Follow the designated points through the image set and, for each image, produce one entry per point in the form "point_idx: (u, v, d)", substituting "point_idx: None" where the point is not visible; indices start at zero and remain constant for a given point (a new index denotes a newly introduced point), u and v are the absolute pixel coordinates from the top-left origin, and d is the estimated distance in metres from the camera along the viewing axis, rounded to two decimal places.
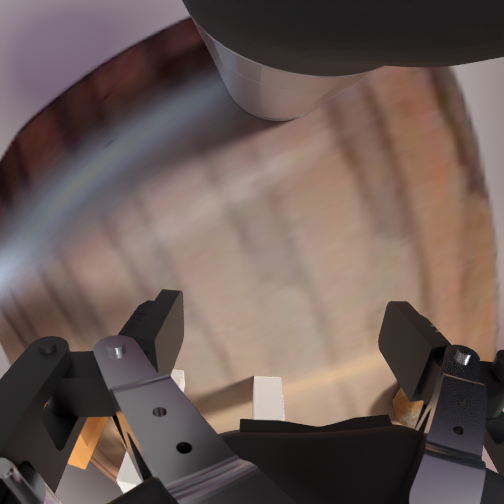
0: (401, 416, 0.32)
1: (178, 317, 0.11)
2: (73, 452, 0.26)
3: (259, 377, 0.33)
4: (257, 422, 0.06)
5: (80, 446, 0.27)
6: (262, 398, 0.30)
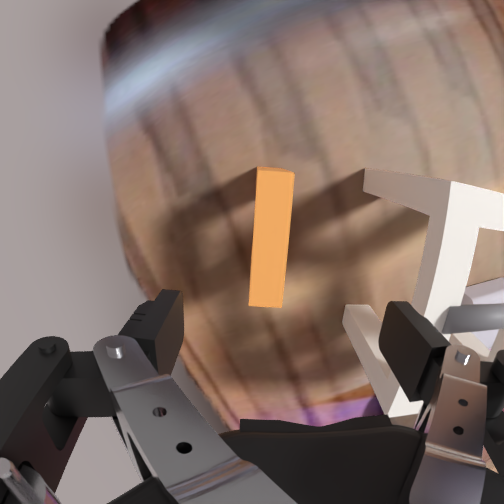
0: None
1: (178, 317, 0.11)
2: (282, 260, 0.23)
3: None
4: (258, 422, 0.06)
5: None
6: None
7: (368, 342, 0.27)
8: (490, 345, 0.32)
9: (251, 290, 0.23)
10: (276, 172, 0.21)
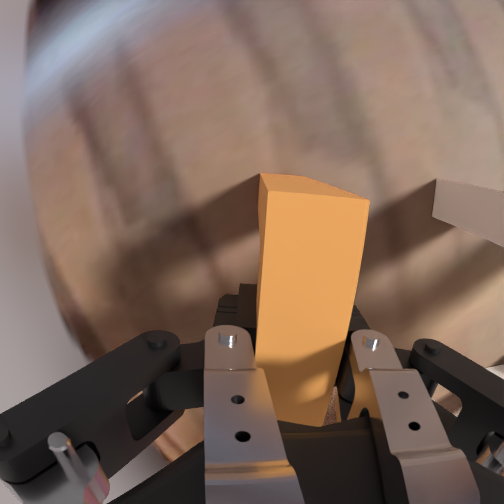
0: None
1: None
2: (321, 399, 0.09)
3: None
4: None
5: None
6: None
7: None
8: None
9: None
10: (321, 197, 0.07)
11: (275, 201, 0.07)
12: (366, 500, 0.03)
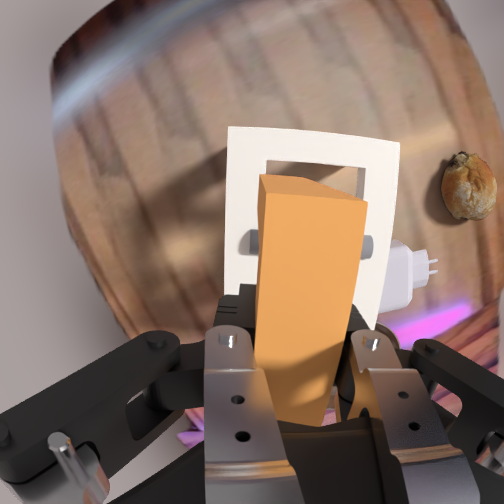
0: (454, 192, 0.36)
1: None
2: (319, 400, 0.09)
3: None
4: None
5: None
6: None
7: None
8: (384, 307, 0.40)
9: None
10: (319, 199, 0.07)
11: (273, 203, 0.07)
12: (366, 500, 0.03)
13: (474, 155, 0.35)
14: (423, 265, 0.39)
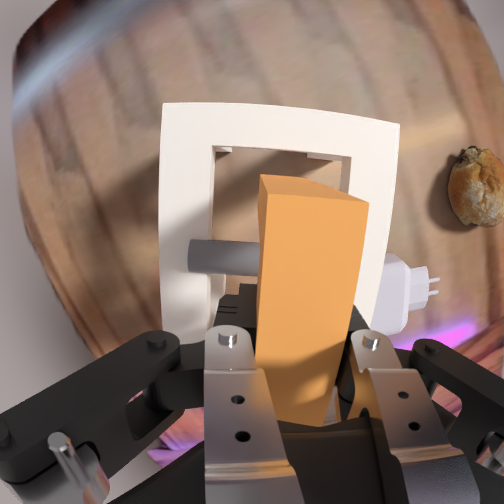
0: (463, 193, 0.30)
1: None
2: (320, 401, 0.09)
3: None
4: None
5: None
6: None
7: None
8: None
9: None
10: (321, 200, 0.07)
11: (275, 204, 0.07)
12: (366, 500, 0.03)
13: (487, 150, 0.28)
14: (422, 285, 0.33)
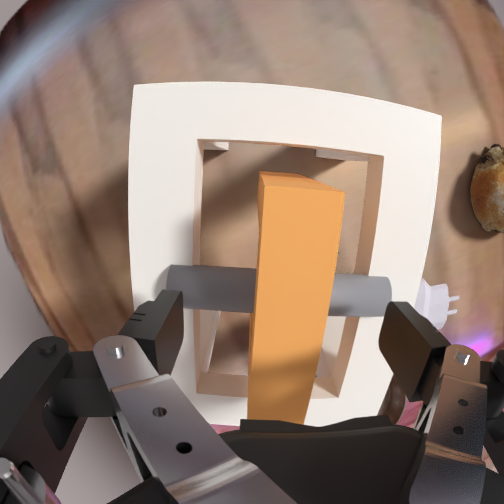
0: (488, 197, 0.25)
1: (178, 317, 0.11)
2: (311, 360, 0.11)
3: None
4: (258, 422, 0.06)
5: None
6: None
7: None
8: None
9: (251, 406, 0.12)
10: (306, 190, 0.09)
11: (270, 193, 0.09)
12: (387, 482, 0.04)
13: None
14: (442, 304, 0.29)
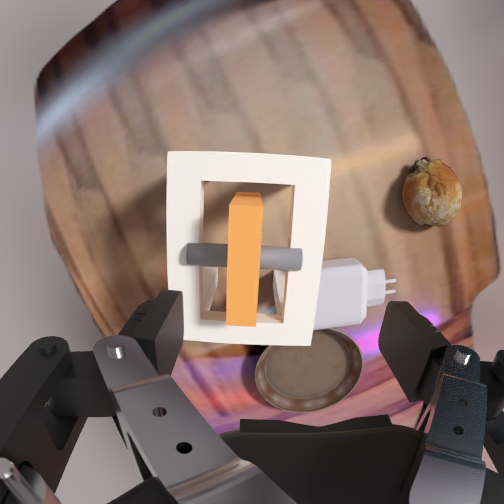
0: (413, 198, 0.39)
1: (178, 317, 0.11)
2: (254, 284, 0.25)
3: None
4: (258, 422, 0.06)
5: None
6: None
7: None
8: (336, 323, 0.42)
9: (227, 311, 0.26)
10: (246, 206, 0.23)
11: (231, 208, 0.23)
12: (387, 482, 0.04)
13: (436, 160, 0.38)
14: (379, 284, 0.42)
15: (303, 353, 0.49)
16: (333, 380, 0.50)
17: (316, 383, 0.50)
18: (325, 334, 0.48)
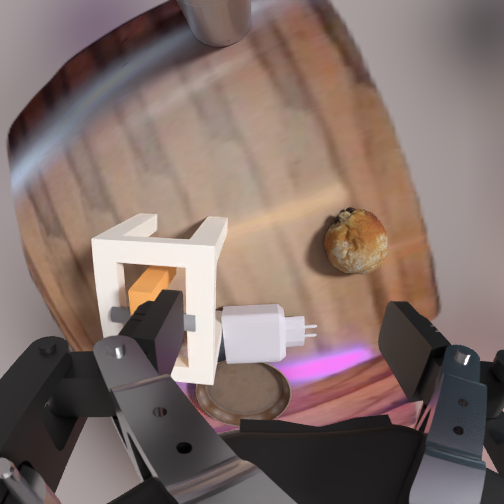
0: (330, 251, 0.45)
1: (178, 317, 0.11)
2: None
3: None
4: (258, 421, 0.06)
5: None
6: (210, 221, 0.44)
7: None
8: (257, 359, 0.49)
9: None
10: (140, 292, 0.29)
11: (130, 293, 0.29)
12: (387, 482, 0.04)
13: (360, 212, 0.44)
14: (298, 329, 0.49)
15: (237, 377, 0.55)
16: (268, 401, 0.57)
17: (253, 402, 0.57)
18: (256, 363, 0.54)
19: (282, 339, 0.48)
